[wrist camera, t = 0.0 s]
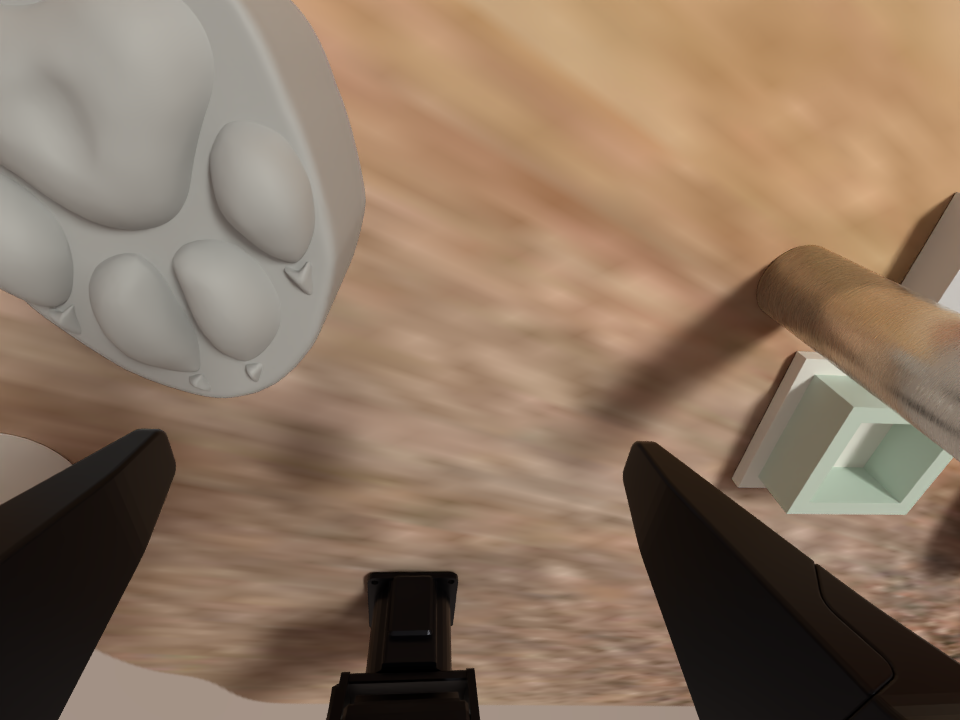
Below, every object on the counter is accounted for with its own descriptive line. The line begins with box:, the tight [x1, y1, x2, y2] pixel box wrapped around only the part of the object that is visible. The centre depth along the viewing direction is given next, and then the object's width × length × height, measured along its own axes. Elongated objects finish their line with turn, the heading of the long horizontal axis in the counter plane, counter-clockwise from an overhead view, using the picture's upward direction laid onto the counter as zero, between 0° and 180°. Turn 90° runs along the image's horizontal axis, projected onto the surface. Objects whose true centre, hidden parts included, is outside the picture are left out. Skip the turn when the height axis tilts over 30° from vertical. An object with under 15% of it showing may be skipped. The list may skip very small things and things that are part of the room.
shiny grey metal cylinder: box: [757, 245, 960, 462], centre depth 19 cm, size 4×4×14 cm
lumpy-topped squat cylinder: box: [0, 0, 366, 398], centre depth 16 cm, size 10×13×9 cm
